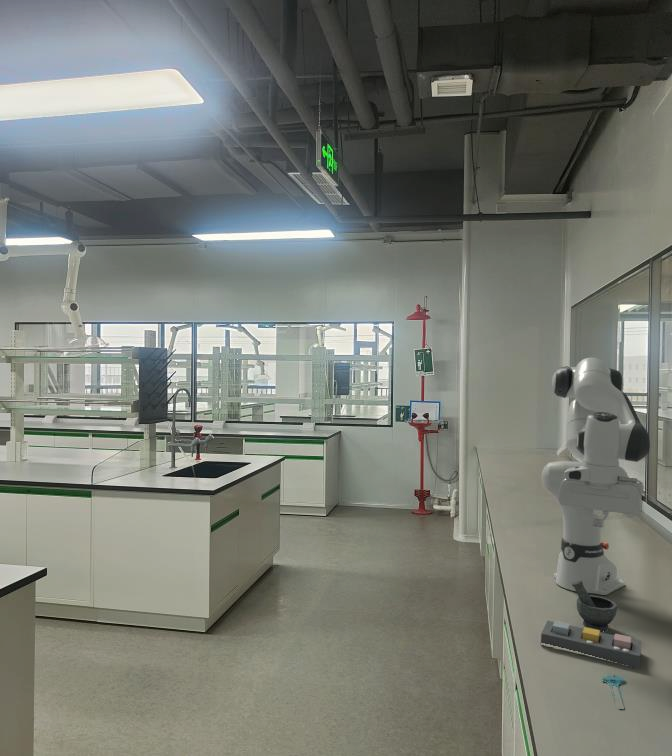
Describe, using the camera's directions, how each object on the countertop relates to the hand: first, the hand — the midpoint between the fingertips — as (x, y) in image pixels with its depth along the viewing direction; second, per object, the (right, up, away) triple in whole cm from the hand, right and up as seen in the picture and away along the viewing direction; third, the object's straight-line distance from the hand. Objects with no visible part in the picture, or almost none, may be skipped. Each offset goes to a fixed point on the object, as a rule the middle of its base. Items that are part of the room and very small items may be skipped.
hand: (597, 526), depth 167 cm
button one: (-7, -25, -12) cm, 29 cm away
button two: (-1, -25, -16) cm, 30 cm away
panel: (-7, -27, -12) cm, 31 cm away
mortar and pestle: (-1, -27, +1) cm, 27 cm away
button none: (-13, -25, -9) cm, 29 cm away
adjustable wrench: (-9, -28, -32) cm, 44 cm away
